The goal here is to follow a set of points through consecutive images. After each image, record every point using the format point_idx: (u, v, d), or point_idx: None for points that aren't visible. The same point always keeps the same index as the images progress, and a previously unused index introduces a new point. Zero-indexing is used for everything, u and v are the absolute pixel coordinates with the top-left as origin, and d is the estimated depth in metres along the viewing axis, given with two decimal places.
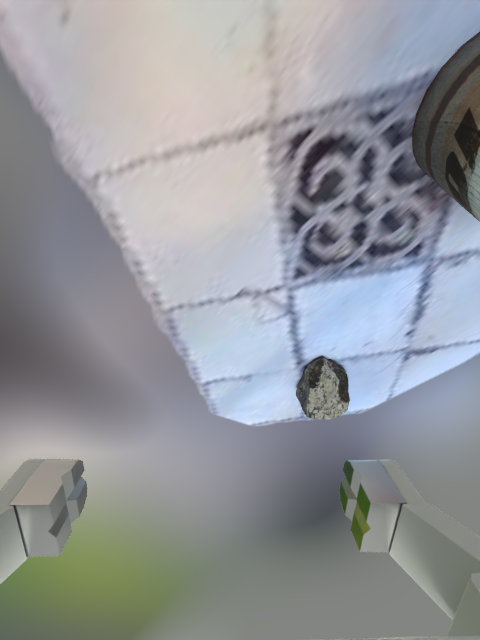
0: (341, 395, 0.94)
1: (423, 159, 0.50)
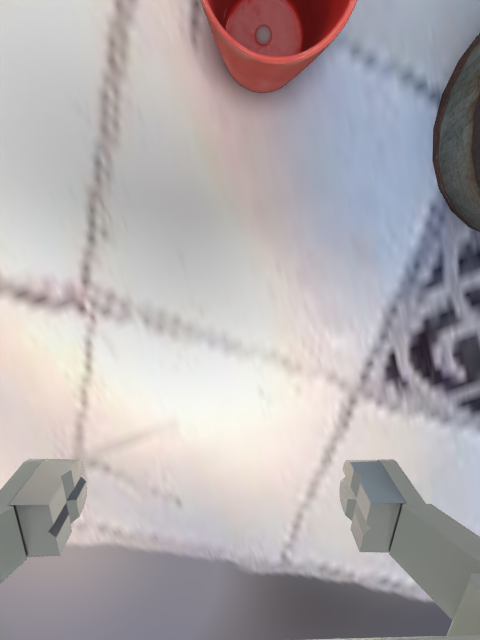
0: None
1: None
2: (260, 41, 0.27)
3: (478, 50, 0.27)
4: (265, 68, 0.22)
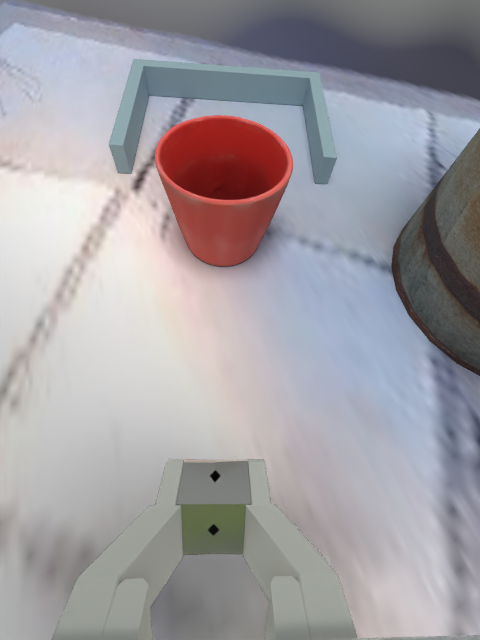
0: None
1: None
2: None
3: (407, 231, 0.31)
4: (217, 214, 0.23)
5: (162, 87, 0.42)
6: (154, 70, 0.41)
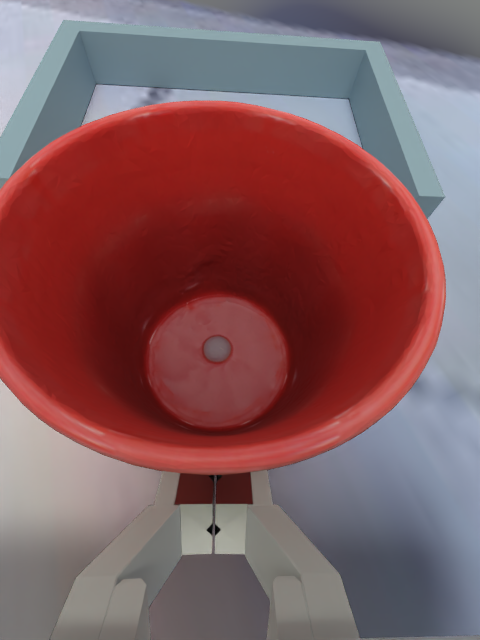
0: None
1: None
2: (212, 358, 0.15)
3: None
4: None
5: (116, 69, 0.25)
6: (99, 39, 0.23)
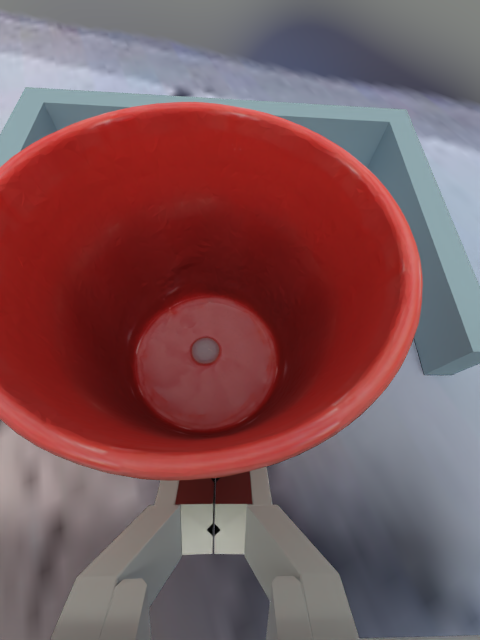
0: None
1: None
2: (201, 360, 0.15)
3: None
4: None
5: None
6: (69, 110, 0.19)
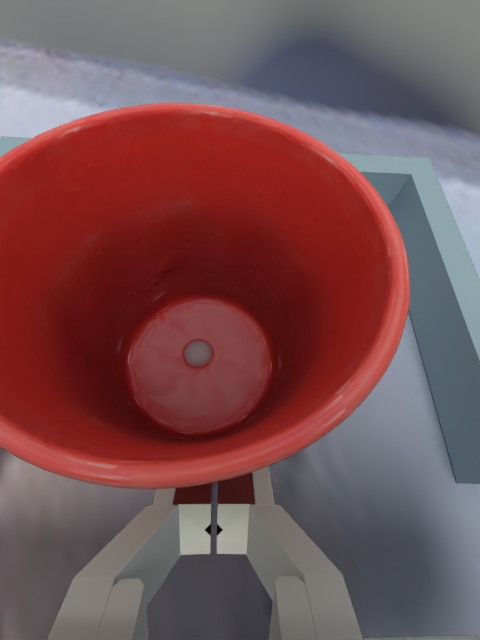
0: None
1: None
2: (195, 363, 0.15)
3: None
4: None
5: None
6: None
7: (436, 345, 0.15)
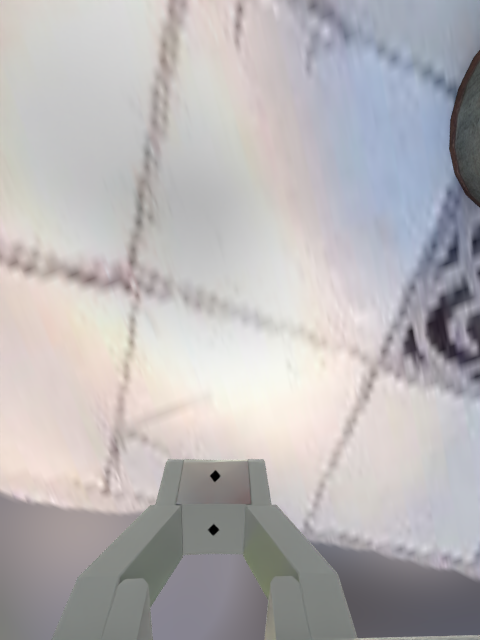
0: None
1: None
2: None
3: None
4: None
5: None
6: None
7: None
